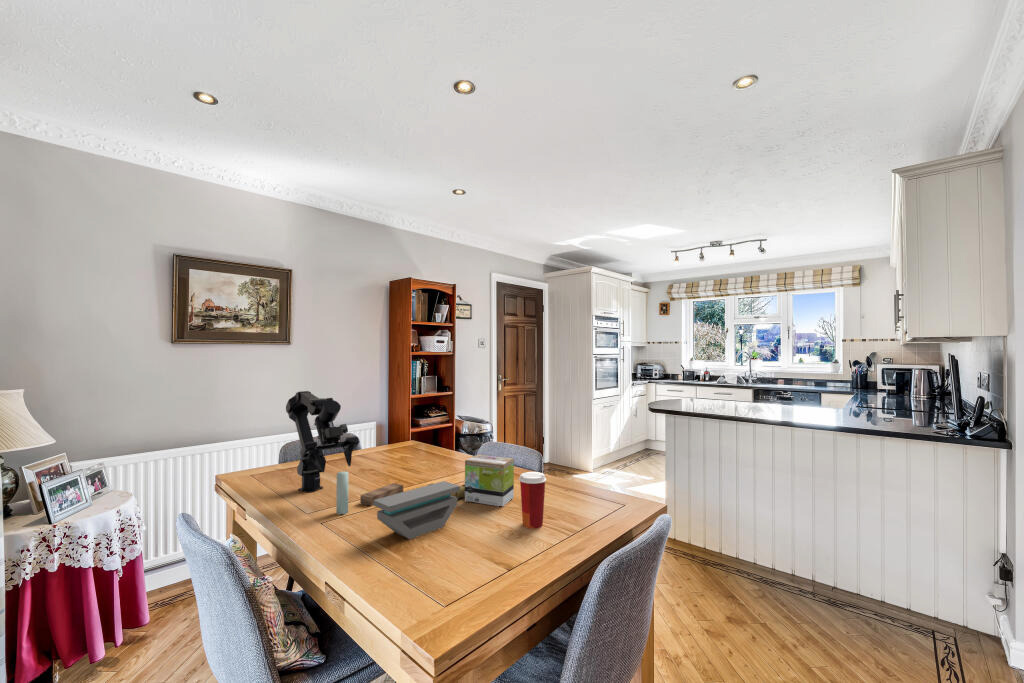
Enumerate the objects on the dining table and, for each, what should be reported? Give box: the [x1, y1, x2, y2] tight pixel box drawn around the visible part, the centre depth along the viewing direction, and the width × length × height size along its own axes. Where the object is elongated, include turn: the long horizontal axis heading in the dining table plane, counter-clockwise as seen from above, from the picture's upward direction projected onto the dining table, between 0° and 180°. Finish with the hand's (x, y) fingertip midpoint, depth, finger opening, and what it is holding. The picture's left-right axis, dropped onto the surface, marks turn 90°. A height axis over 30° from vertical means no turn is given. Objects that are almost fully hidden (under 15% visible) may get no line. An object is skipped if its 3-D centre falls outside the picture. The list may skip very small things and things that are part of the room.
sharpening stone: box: [373, 480, 461, 540], centre depth 131 cm, size 25×8×11 cm, turn 138°
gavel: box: [428, 483, 465, 500], centre depth 165 cm, size 21×5×10 cm
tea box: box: [464, 454, 515, 508], centre depth 157 cm, size 15×10×15 cm
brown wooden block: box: [359, 482, 404, 507], centre depth 159 cm, size 16×5×3 cm, turn 152°
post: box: [335, 471, 349, 515], centre depth 145 cm, size 4×4×13 cm
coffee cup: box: [518, 471, 547, 530], centre depth 135 cm, size 8×8×15 cm
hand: (336, 468), depth 152 cm, fingers open, 9 cm apart
